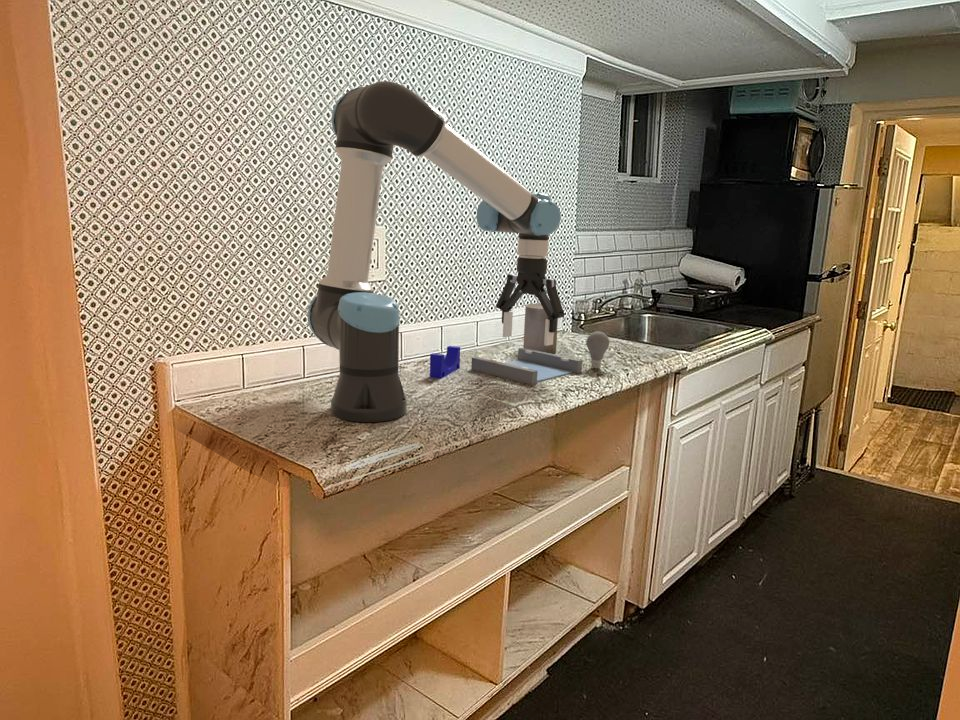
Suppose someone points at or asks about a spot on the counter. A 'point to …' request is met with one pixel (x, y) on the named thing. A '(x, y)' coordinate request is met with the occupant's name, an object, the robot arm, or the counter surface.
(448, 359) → the cable clip
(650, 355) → the counter surface
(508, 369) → the blue panel with rails
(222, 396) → the counter surface
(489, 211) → the robot arm
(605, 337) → the light bulb
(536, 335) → the pillar candle
